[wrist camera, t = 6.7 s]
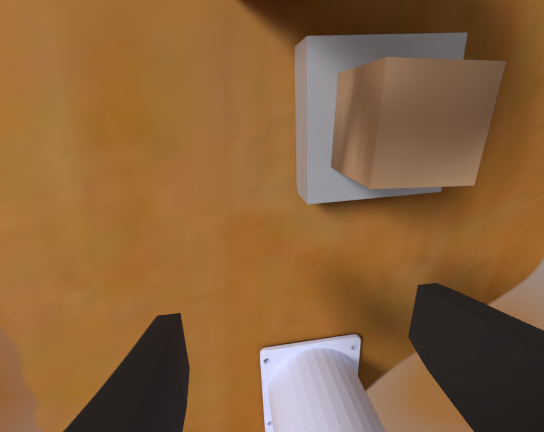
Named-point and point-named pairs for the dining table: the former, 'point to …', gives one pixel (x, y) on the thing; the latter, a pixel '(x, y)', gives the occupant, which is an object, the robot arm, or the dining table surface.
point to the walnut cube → (414, 121)
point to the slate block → (322, 101)
